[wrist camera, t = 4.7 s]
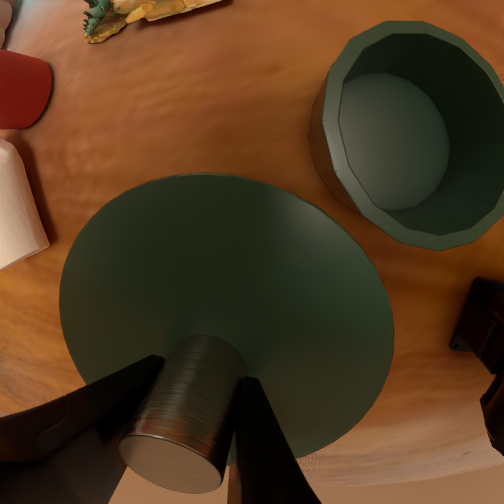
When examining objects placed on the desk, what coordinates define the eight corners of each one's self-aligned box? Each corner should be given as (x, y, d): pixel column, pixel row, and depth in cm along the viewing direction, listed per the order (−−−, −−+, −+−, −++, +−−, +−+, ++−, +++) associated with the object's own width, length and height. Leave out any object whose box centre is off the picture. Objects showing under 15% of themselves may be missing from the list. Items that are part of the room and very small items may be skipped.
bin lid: (427, 212, 8) (544, 266, 3) (328, 460, 11) (332, 553, 6) (74, 158, 9) (-50, 170, 4) (94, 407, 12) (44, 479, 7)
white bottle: (28, 115, 19) (-18, 113, 14) (62, 240, 22) (16, 259, 16) (-5, 147, 20) (-47, 151, 15) (26, 259, 23) (-15, 279, 18)
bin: (458, 93, 15) (521, 72, 8) (439, 232, 18) (499, 266, 11) (319, 50, 16) (335, -6, 9) (297, 202, 19) (303, 225, 12)
